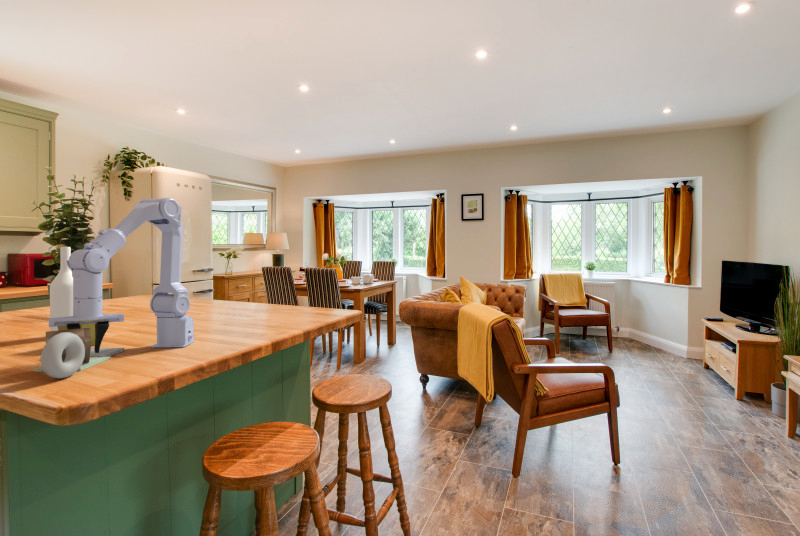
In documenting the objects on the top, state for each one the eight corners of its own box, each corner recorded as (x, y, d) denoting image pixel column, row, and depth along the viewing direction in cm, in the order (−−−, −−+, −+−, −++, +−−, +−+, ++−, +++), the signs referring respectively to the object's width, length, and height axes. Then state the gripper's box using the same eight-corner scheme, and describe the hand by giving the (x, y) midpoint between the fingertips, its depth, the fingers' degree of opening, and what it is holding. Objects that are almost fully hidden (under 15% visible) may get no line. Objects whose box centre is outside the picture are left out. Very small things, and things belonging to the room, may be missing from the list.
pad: (110, 359, 104) (110, 356, 104) (80, 370, 93) (80, 368, 93) (69, 359, 103) (69, 357, 103) (34, 371, 92) (34, 369, 92)
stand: (124, 350, 114) (124, 335, 114) (102, 359, 104) (102, 342, 104) (67, 351, 113) (67, 336, 112) (40, 360, 103) (40, 343, 103)
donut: (74, 371, 93) (73, 328, 93) (89, 371, 93) (88, 328, 93) (36, 384, 83) (35, 336, 83) (53, 384, 83) (52, 336, 83)
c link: (89, 362, 99) (87, 348, 101) (91, 341, 94) (90, 327, 96) (45, 368, 93) (45, 353, 95) (46, 345, 89) (45, 331, 91)
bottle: (56, 341, 126) (54, 246, 126) (46, 338, 131) (44, 246, 130) (86, 337, 133) (85, 247, 133) (76, 335, 137) (75, 247, 137)
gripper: (120, 295, 106) (120, 347, 106) (48, 298, 96) (48, 354, 96) (125, 297, 101) (125, 351, 101) (49, 300, 91) (49, 360, 91)
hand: (87, 353), depth 98 cm, fingers open, 3 cm apart
